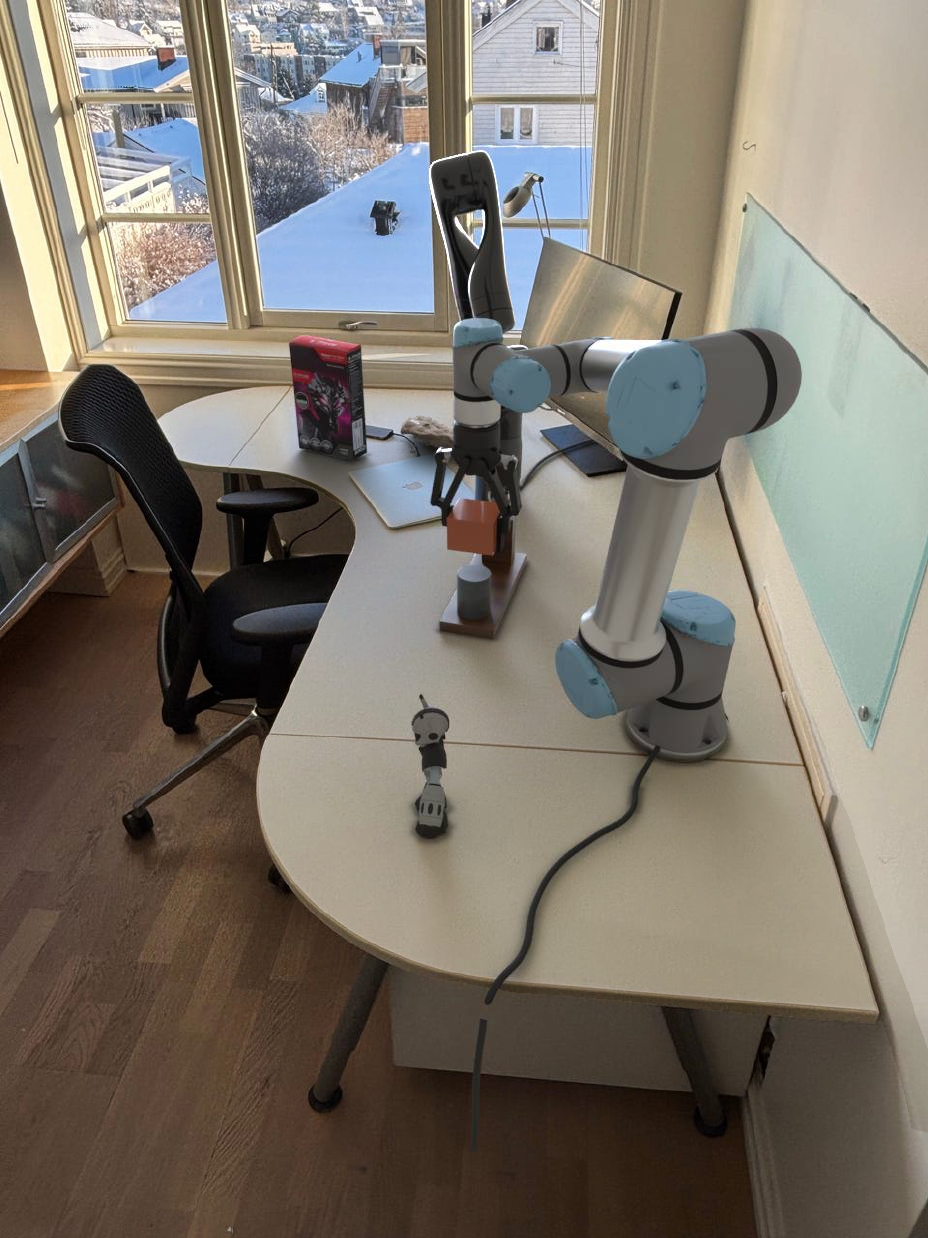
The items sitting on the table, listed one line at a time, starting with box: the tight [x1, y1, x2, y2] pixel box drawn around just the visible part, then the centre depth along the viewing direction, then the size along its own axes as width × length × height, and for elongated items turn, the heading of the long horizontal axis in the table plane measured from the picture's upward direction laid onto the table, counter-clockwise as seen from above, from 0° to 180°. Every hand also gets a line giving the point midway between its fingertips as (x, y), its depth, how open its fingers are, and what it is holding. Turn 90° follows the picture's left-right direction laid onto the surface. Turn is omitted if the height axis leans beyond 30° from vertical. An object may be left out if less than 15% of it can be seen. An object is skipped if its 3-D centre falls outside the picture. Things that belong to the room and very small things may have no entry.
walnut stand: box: [439, 516, 528, 640], centre depth 172 cm, size 28×10×12 cm, turn 165°
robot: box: [410, 693, 450, 839], centre depth 122 cm, size 20×5×20 cm, turn 3°
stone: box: [400, 415, 454, 449], centre depth 232 cm, size 21×15×6 cm
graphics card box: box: [288, 334, 368, 462], centre depth 223 cm, size 17×7×27 cm, turn 62°
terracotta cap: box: [446, 497, 500, 556], centre depth 157 cm, size 8×8×6 cm
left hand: (498, 537), depth 180 cm, fingers closed on walnut stand, 3 cm apart
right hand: (475, 545), depth 159 cm, fingers closed on terracotta cap, 8 cm apart
